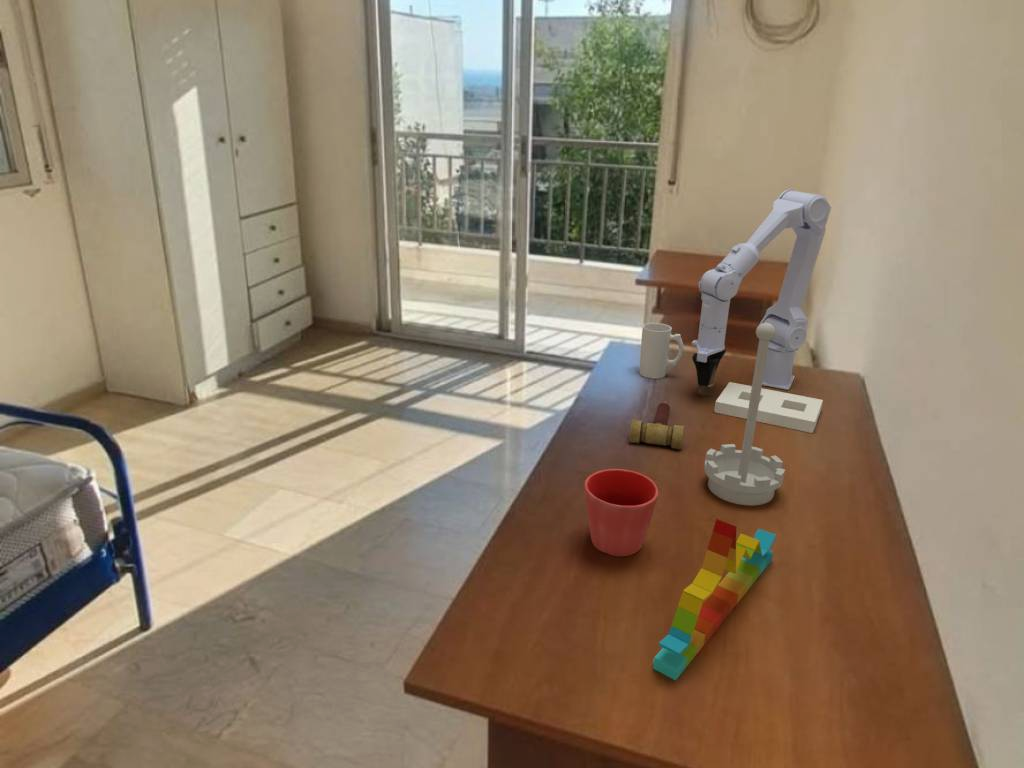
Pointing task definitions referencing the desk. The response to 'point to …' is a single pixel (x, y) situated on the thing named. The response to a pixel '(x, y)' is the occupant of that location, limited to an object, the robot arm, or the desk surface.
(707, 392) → the peg
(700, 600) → the chart
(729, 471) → the flag stand
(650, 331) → the mug
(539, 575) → the desk surface
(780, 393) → the board
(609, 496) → the flower pot
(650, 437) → the gavel
